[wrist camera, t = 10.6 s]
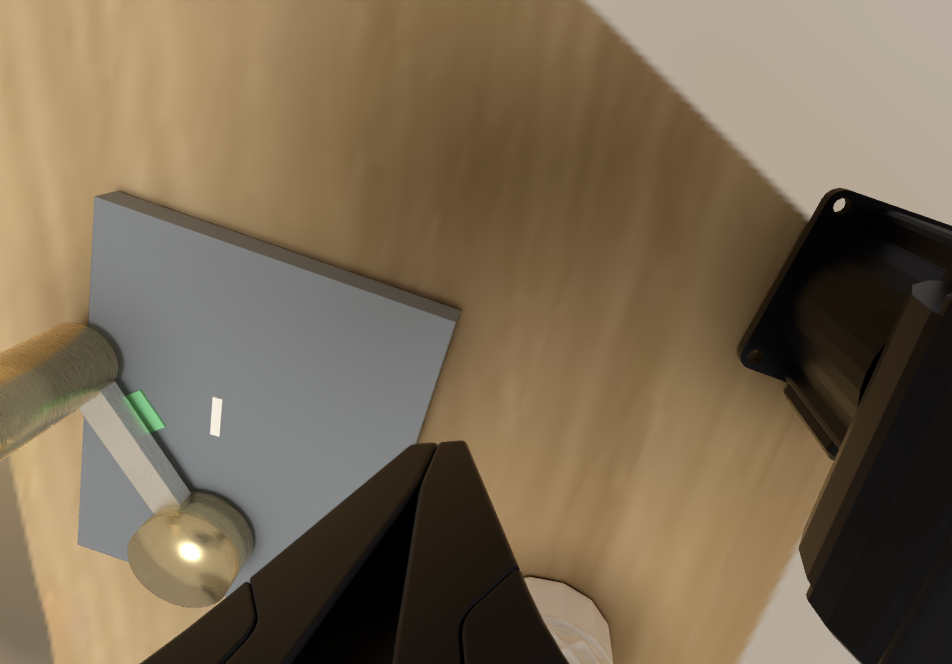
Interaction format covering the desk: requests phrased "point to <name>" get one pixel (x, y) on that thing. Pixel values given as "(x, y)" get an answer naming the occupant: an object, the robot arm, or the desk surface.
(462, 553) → the robot arm
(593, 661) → the white cup
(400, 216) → the desk surface
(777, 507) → the desk surface
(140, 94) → the desk surface
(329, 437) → the gray board
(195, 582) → the brass crank handle
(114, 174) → the desk surface
